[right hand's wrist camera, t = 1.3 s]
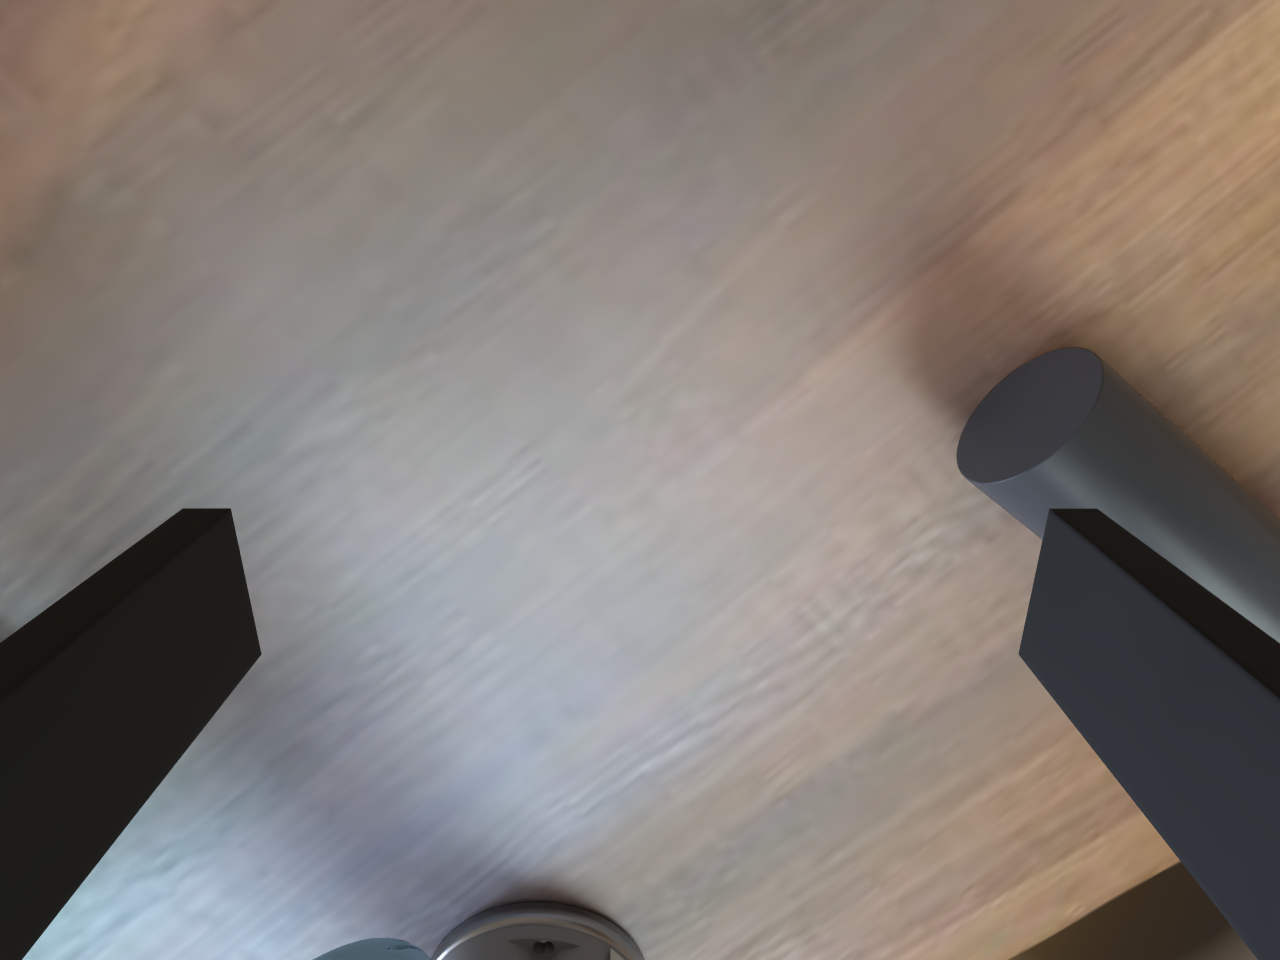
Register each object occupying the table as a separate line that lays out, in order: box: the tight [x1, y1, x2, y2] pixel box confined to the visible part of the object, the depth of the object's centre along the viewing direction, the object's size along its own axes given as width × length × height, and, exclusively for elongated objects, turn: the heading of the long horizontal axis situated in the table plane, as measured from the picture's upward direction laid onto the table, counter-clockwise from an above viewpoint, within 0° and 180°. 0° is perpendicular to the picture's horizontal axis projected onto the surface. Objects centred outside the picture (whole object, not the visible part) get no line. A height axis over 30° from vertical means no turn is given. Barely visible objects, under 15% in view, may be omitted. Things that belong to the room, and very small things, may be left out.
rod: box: [957, 347, 1280, 643], centre depth 39 cm, size 22×8×8 cm, turn 53°
